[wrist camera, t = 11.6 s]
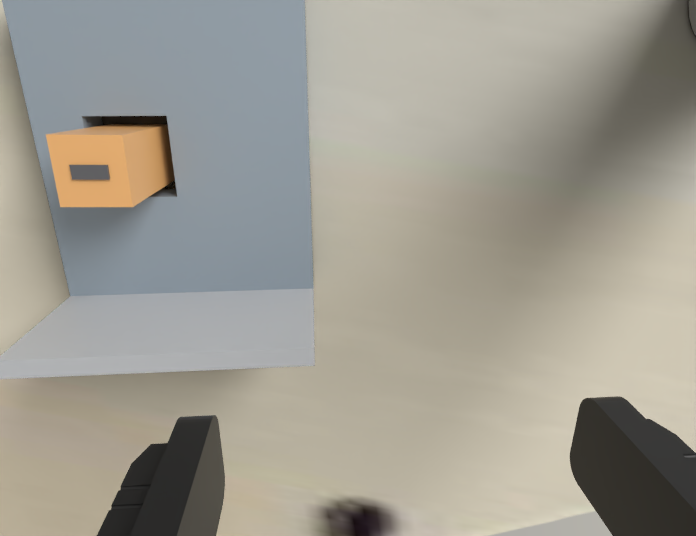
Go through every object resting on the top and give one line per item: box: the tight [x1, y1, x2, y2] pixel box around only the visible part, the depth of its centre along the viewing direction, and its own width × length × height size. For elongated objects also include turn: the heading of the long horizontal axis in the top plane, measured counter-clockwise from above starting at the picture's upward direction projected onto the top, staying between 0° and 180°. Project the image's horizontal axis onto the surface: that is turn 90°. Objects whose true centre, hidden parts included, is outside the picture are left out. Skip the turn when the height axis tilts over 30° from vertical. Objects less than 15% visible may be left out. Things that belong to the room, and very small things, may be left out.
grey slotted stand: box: [0, 0, 315, 379], centre depth 29 cm, size 18×21×12 cm
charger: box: [46, 124, 175, 207], centre depth 30 cm, size 4×4×9 cm
